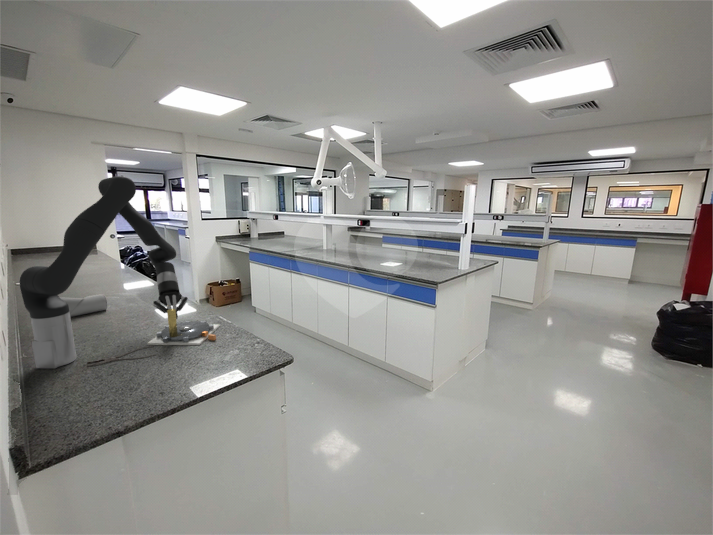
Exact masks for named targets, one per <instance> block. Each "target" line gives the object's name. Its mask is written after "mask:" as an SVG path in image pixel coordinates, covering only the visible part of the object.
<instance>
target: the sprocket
mask: <svg viewBox="0 0 713 535" xmlns="http://www.w3.org/2000/svg"><path fill="white" fill-rule="evenodd" d="M166 314H167V322H168V324H167V325H165V326H164V328H163V329H162V330H161V331H156V337H162V339H163V342H169V341H184V342H188V341H189V340H191V339H195V338H198V337H201V336H207V335H208V332H209V331H210V330H211V329H214V326H213V325H209V323H207V320H205V319H204V320H201V321H198V320H194V321H190V320H184V321H183V322H179V323H178V321H177V319H176V309H173V308H172V309H168V310H167V313H166Z"/></svg>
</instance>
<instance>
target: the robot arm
mask: <svg viewBox="0 0 713 535" xmlns="http://www.w3.org/2000/svg"><path fill="white" fill-rule="evenodd" d="M98 191H99V193H100V195H101V197H100V198H99V199H98V200H97V201H96V202H94V203H93V204H92V205H90V206H89V207H88V208H86V209H85V210H83V211H82V212H81V213H80V214H78V215H77V216H76V217H75V218H74V219H73V221H72V222H71V223H70V224H69V226H68V227H67V228H66V230H65V232H64V235H63V245H62V249H61V251H60V254H59V255H58V256H57V257H56V258H55V260H54V261H53V262H52V263H51V264H50V265H49V266H43V265H35V266H30V267H28V268H26V269H24V271H23V272H22V273H21V275H20V278H19V290H20V292H21V293H20V294H21V297H22V301H23V304H24V308H25V309H26V311H27V312H28V313H29V317H30V322H31V328H32V334H33V338H34V339H33V340H32V341H31V346H32V353H33V359H34V363H35V368H36V369H57V368H59V367H62V366H65V365H68V364H70V363H72V362H74V361H76V359H77V358H78V357H77V353H76V352H77V351H76V345H75V339H74V331H73V326H72V319H71V318H72V317H70V311H69V305H68V304H67V303H66V302H64V301H63V300H62V299H61V298H60V296H59V295H61V294H63V293H65V292H66V291H67V290H68V289H69V288H70V286H71V285H72V283H73V282H74V280H75V278H76V276H77V274H78V273H79V270H80V269H81V267H82V265H83V264H84V262H85V261H86V259H87V258H88V256H89V255H90V253H91V252H92V250H93V249H95V248H94V247H96V245H97V244H98V243H99V242H100V240H101V238H102V237H103V236H104V234H105V233H106V232H107V230H108V229H109V227H110V225H111V224H112V223H113V221H114V220H115V219H116V217H117V216H118V215H120V216H121V217H122V218H123V219H124V220H125V221H126V223H128V225H129V226H130V227H131V228H132V229H133V231H134V232H135V233H136V235H137V236H138V238H140V240H141V241H142V243H143V244H144V245H145V246H147V247H152V246H157V247H156V248H153V249H151V250H149V252H148V258H149V260H150V261H151V263H152V265H153V267H154V269H155V273H156V284H157V285H156V286H157V289H158V290H157V291H158V299H156V300H154V301H153V307H154V308H156V309H157V310H159V311H160V312H162V313H163V314H167V310H168V309H176V320H178V318H179V317H178V312H180V311H182V309H183V308H184V307H185V305H186V304H187V303H188V297H187V296H183V295H182V293H181V292H180V288H179V282H178V281H179V280H178V277H177V275H176V271H175V270H176V269H175V265H174V264H173V263H172V262H168V261H171V260H174V259H175V258H176V257H177V250H176V249H175V247H173V246H172V245H171V243H169V242H167V240H165V239H164V238H163V237H162V236H161V235H160V234H159V232H158V230H157V229H156V227H155V226H154V224H153V223H152V222H151V221H150V220H149V219H148V218H146V216H144V215H143V214H141V213H140V212H139V211H138V210H137V209H136V208H134V206H133V205H132V204H131V203H130V201H131V200H132V199H133V198H134V197H135V194H136V192H137V188H136V183H135V182H134V181H133V180H132V179H131V178H129V177H127V176H124V175H118V176H117V175H116V176H112V177H106V178H104V179H101V180H100V181H99V182H98ZM179 302H180V303H179ZM178 304H179V305H178ZM177 305H178V306H177Z"/></svg>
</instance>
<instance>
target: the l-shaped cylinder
mask: <svg viewBox="0 0 713 535" xmlns="http://www.w3.org/2000/svg"><path fill="white" fill-rule="evenodd" d="M59 297H60V296H59ZM60 298H61V299H62V300H63V301H64V302H66V303H67V304H68V305H69V311H70V318H72V317H77V316H82V315H86V314H91V313H96V312H97V313H98V312H102V311H106V310H107V309H108V300H107V297H106V295H105V294H104V293H100V294H94V295H88V296H87V295H86V296H85V297H84V298H83V297H63V296H62V297H60Z"/></svg>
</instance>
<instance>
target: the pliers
mask: <svg viewBox="0 0 713 535" xmlns="http://www.w3.org/2000/svg"><path fill="white" fill-rule="evenodd" d="M154 346H155V345H147V346H143V347H138V348H135V349H133V350H130V351H128V352H125V353H122V354H119V355H114V356H108V357H104V358H99V359H95V360H90V361H87V362H86V364H88V365H86V368H89V367H96V366H101V365H105V364H109V363H113V362H118V361H127V360H128V361H129V360H140V359H146V358H150V357H155V356H157V354H156V353H153V354H149V355H145V356H139V357H138V356H137V357H126V356H127V355H130V354H132V353H134V352H137V351H139V350H144V349H147V348H148V349H150V348H154Z"/></svg>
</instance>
